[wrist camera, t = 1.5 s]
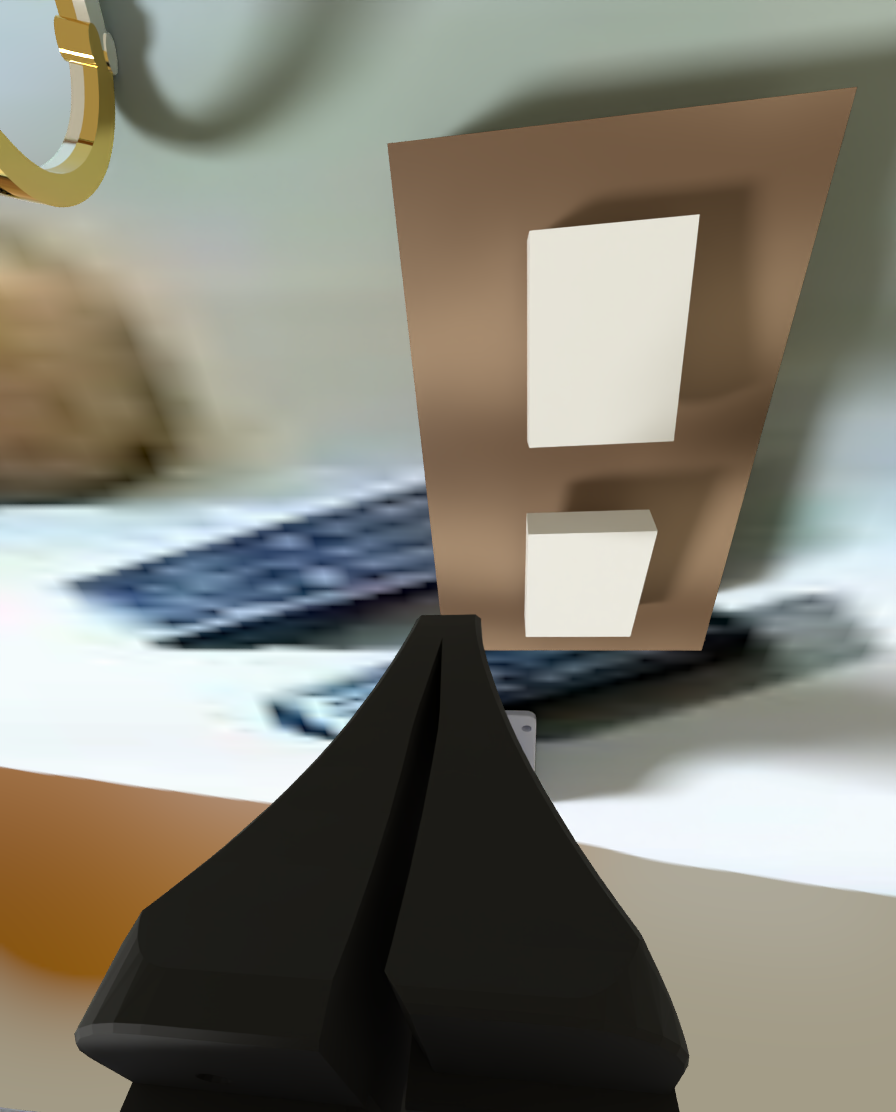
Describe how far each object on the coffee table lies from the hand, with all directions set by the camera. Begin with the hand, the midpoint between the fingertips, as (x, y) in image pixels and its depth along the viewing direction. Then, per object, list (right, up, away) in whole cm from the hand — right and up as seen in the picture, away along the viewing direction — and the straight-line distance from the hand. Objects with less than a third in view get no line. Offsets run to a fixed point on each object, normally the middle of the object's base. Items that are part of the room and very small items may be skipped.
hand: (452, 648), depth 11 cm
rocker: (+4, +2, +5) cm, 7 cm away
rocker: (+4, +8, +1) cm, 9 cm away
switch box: (+4, +7, +6) cm, 10 cm away
